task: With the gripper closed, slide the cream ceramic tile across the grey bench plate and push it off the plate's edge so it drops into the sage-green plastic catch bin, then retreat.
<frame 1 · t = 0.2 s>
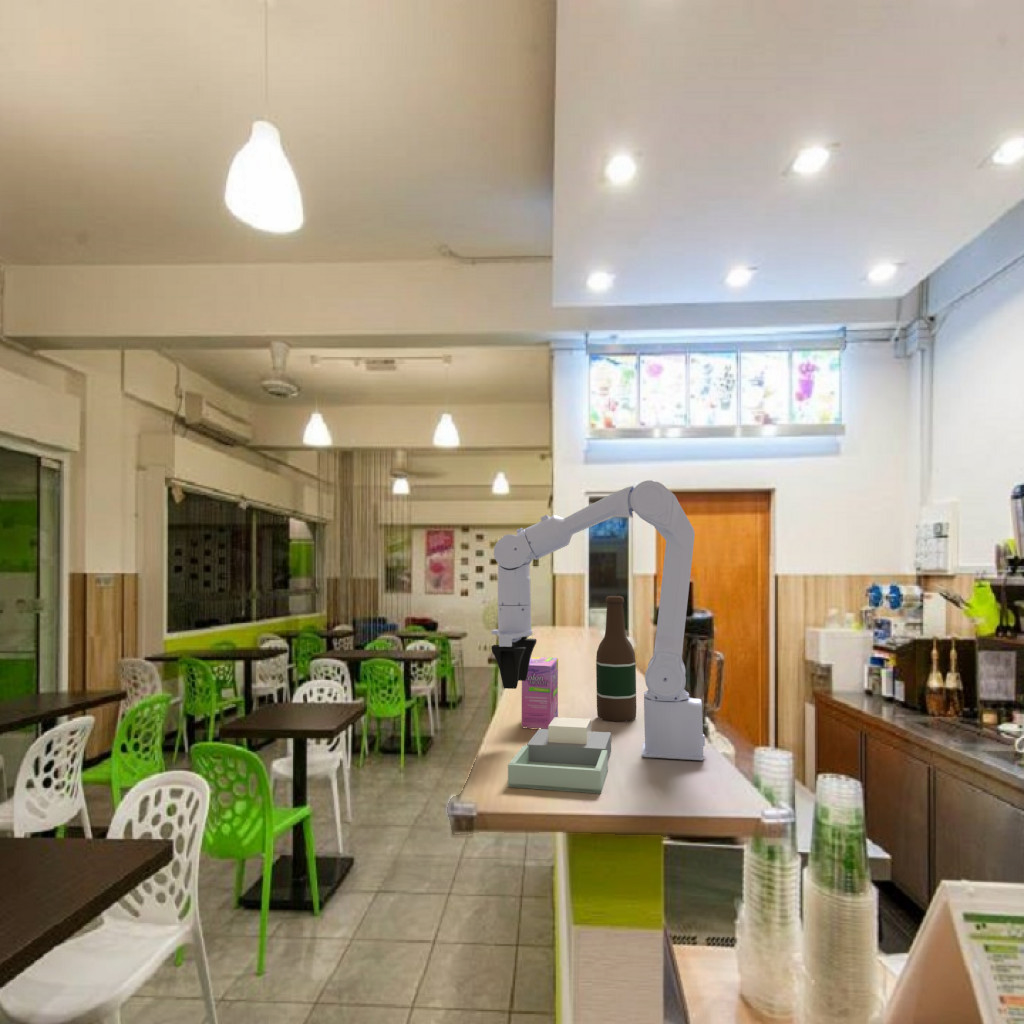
hand: (515, 684, 118), 10 cm above the counter, fingers open, 7 cm apart
catch bin: (559, 778, 98), on the counter
beer bottle: (616, 718, 136), on the counter
tile: (570, 738, 109), point 3 cm above the counter, touching bench plate
box: (540, 723, 132), on the counter
bench plate: (570, 757, 108), on the counter
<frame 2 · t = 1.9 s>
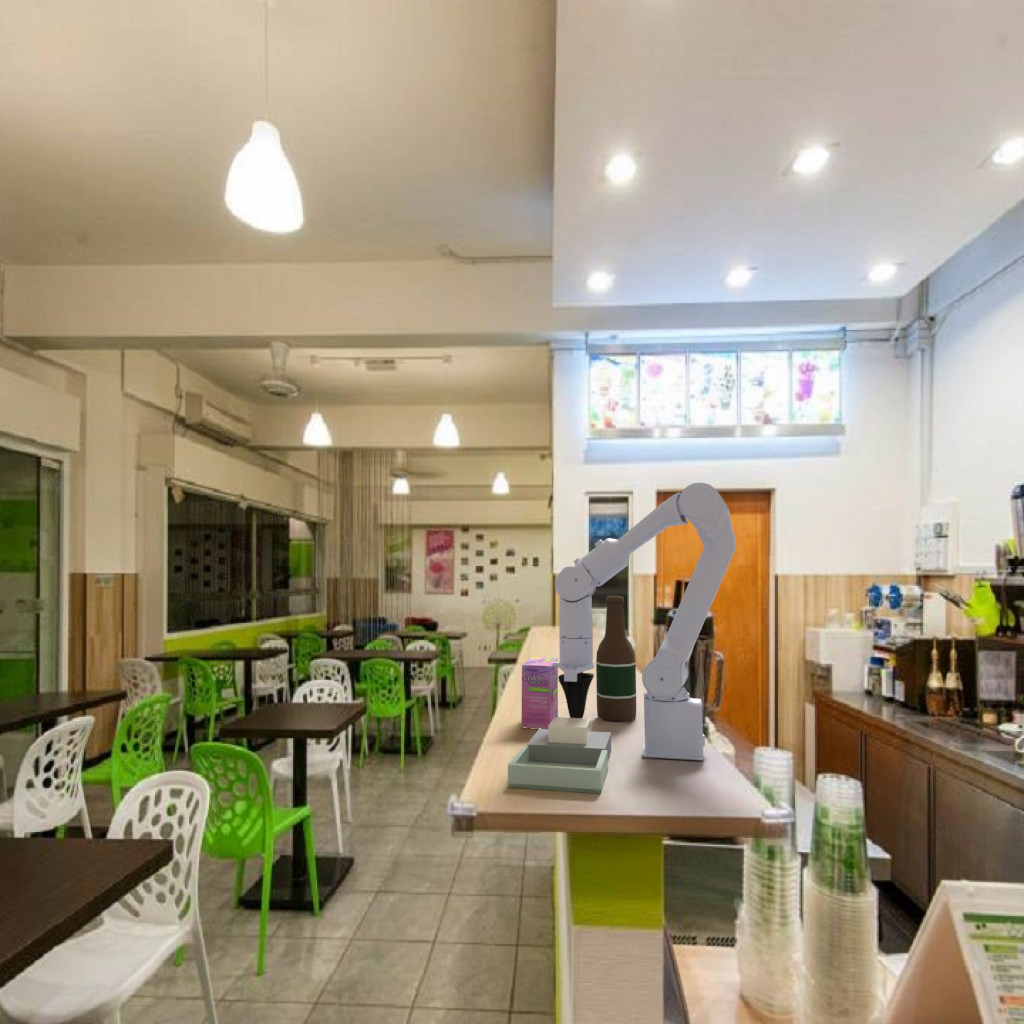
hand: (576, 717, 117), 4 cm above the counter, fingers closed
nothing on the counter moved.
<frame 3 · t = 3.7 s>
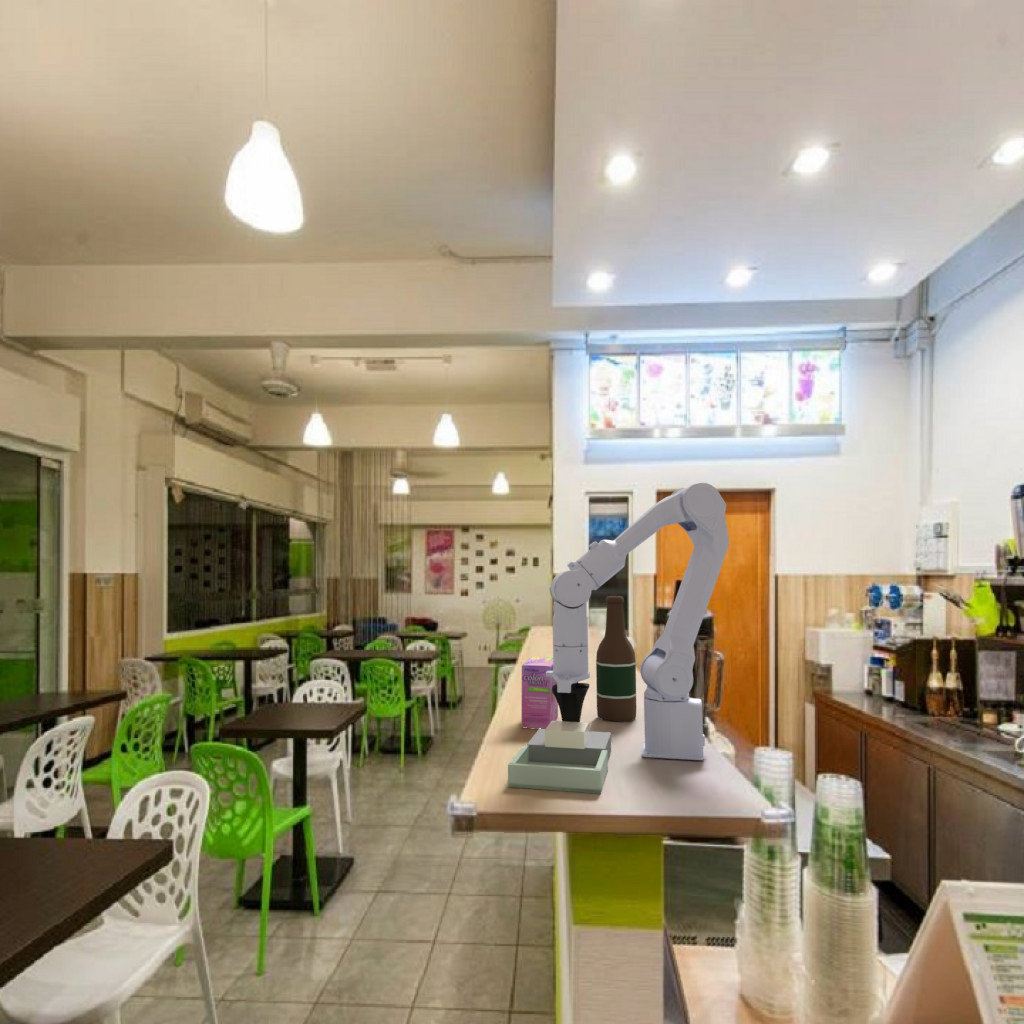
hand: (571, 730, 110), 4 cm above the counter, fingers closed
tile: (567, 742, 106), point 3 cm above the counter, touching gripper
everything else where it was.
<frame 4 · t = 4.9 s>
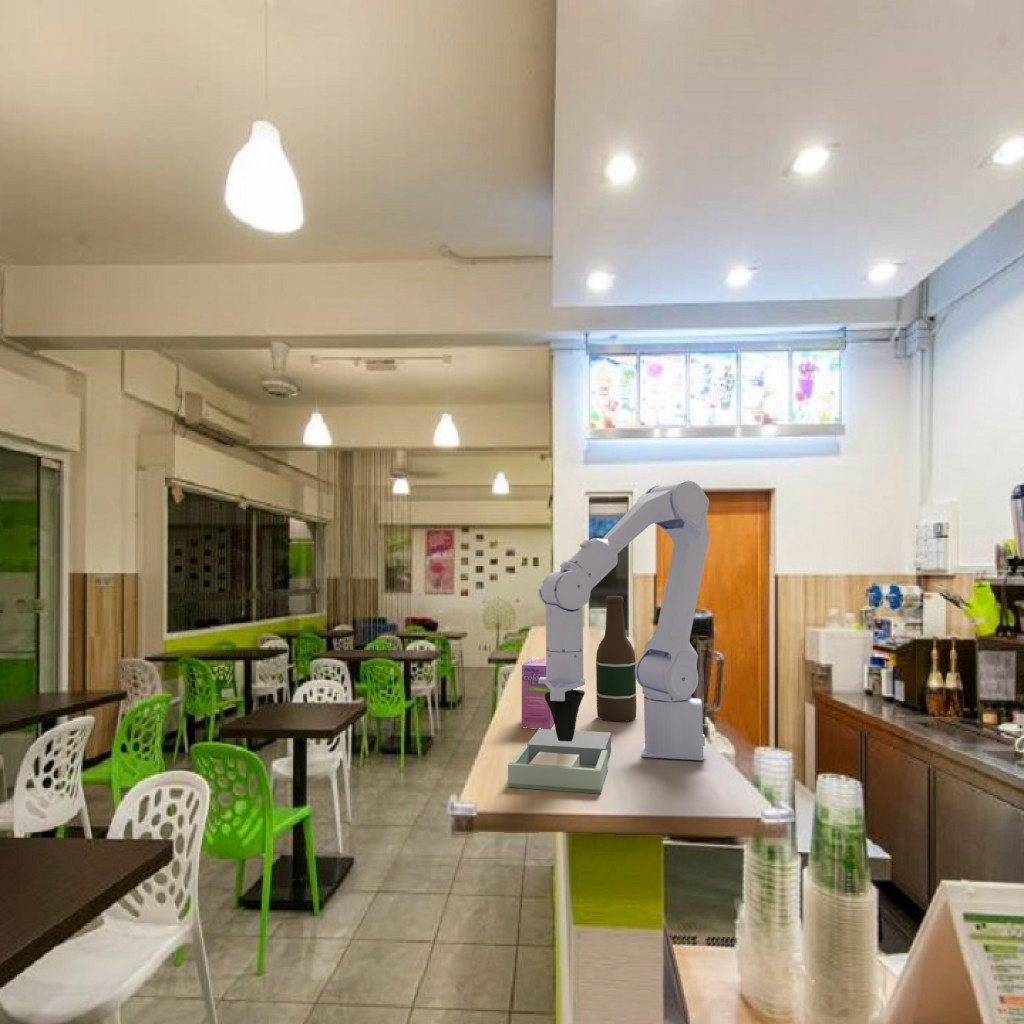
hand: (565, 740, 104), 4 cm above the counter, fingers closed
tile: (554, 759, 97), point 3 cm above the counter, tilted 180°, touching catch bin
everything else where it was.
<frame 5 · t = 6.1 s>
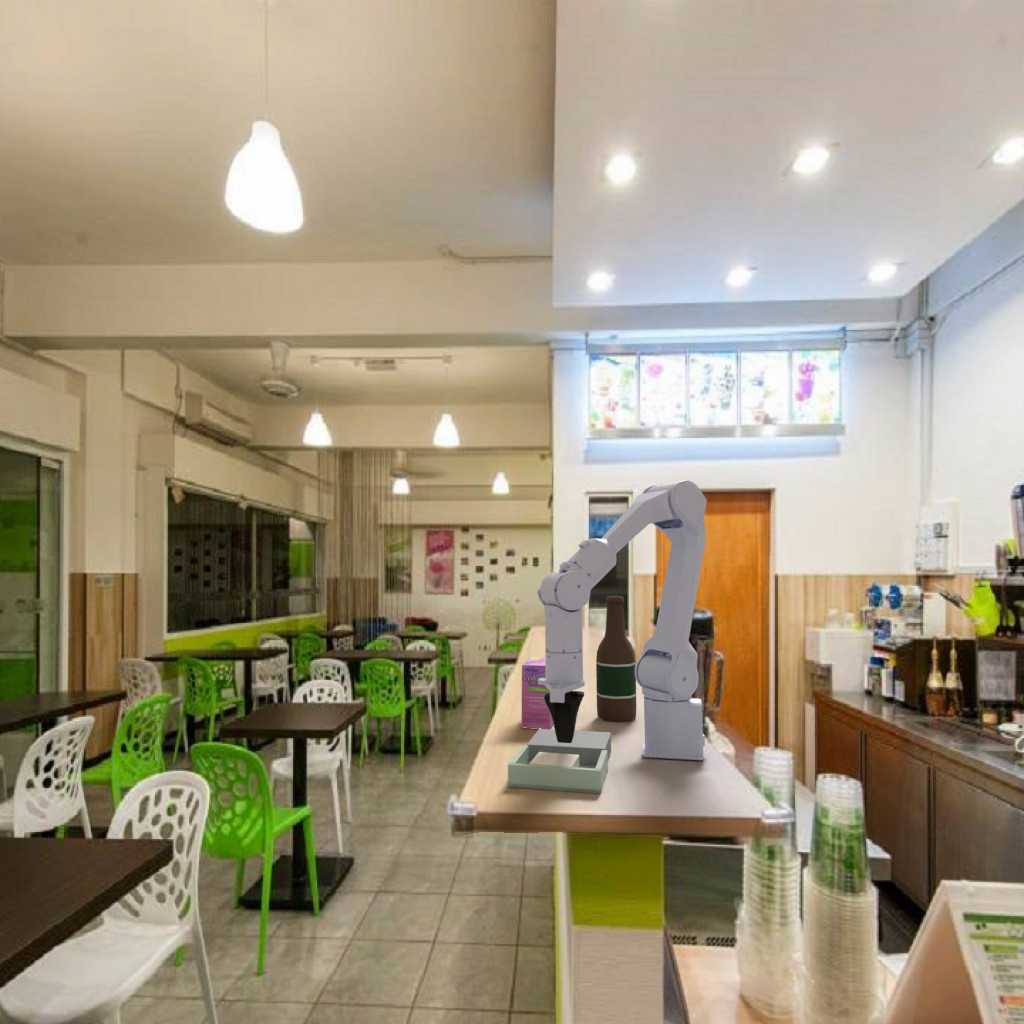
hand: (565, 741, 103), 4 cm above the counter, fingers closed
nothing on the counter moved.
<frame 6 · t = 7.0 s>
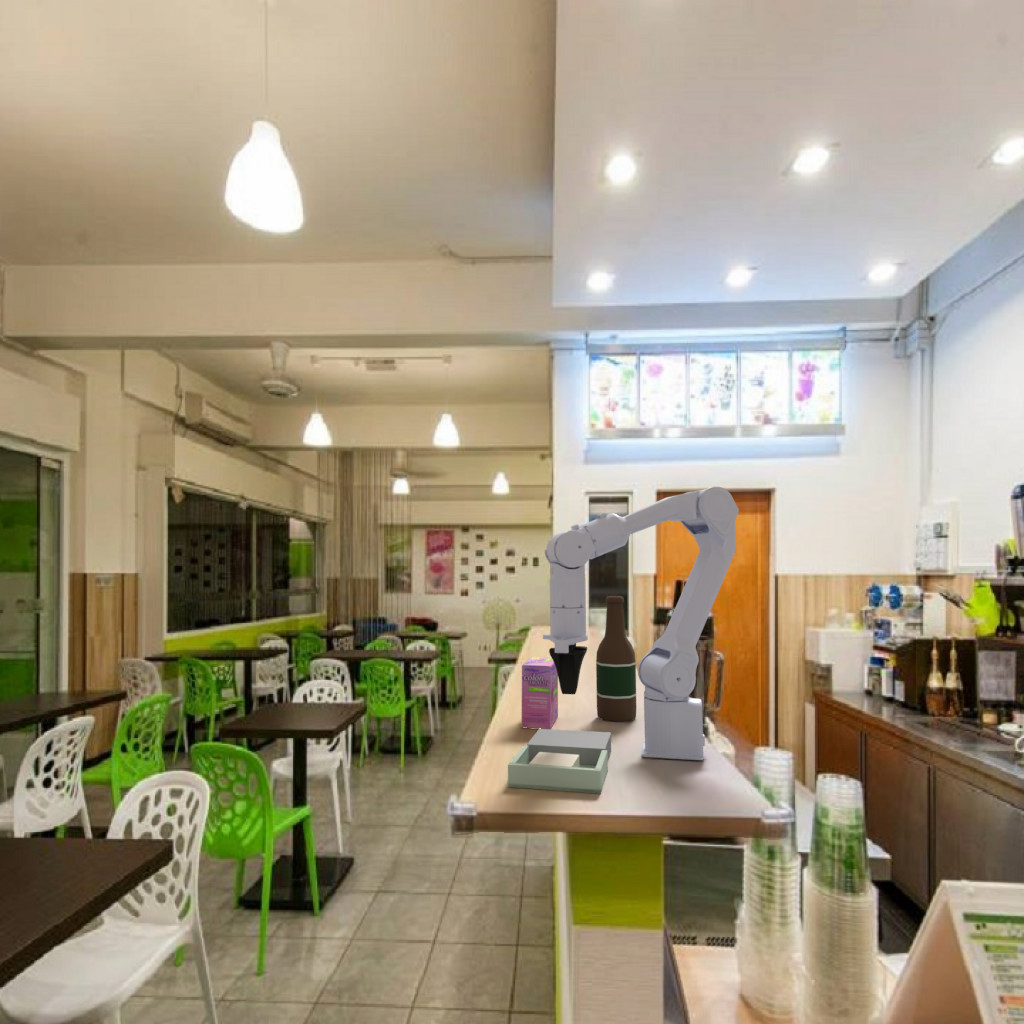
hand: (569, 693, 108), 10 cm above the counter, fingers closed
nothing on the counter moved.
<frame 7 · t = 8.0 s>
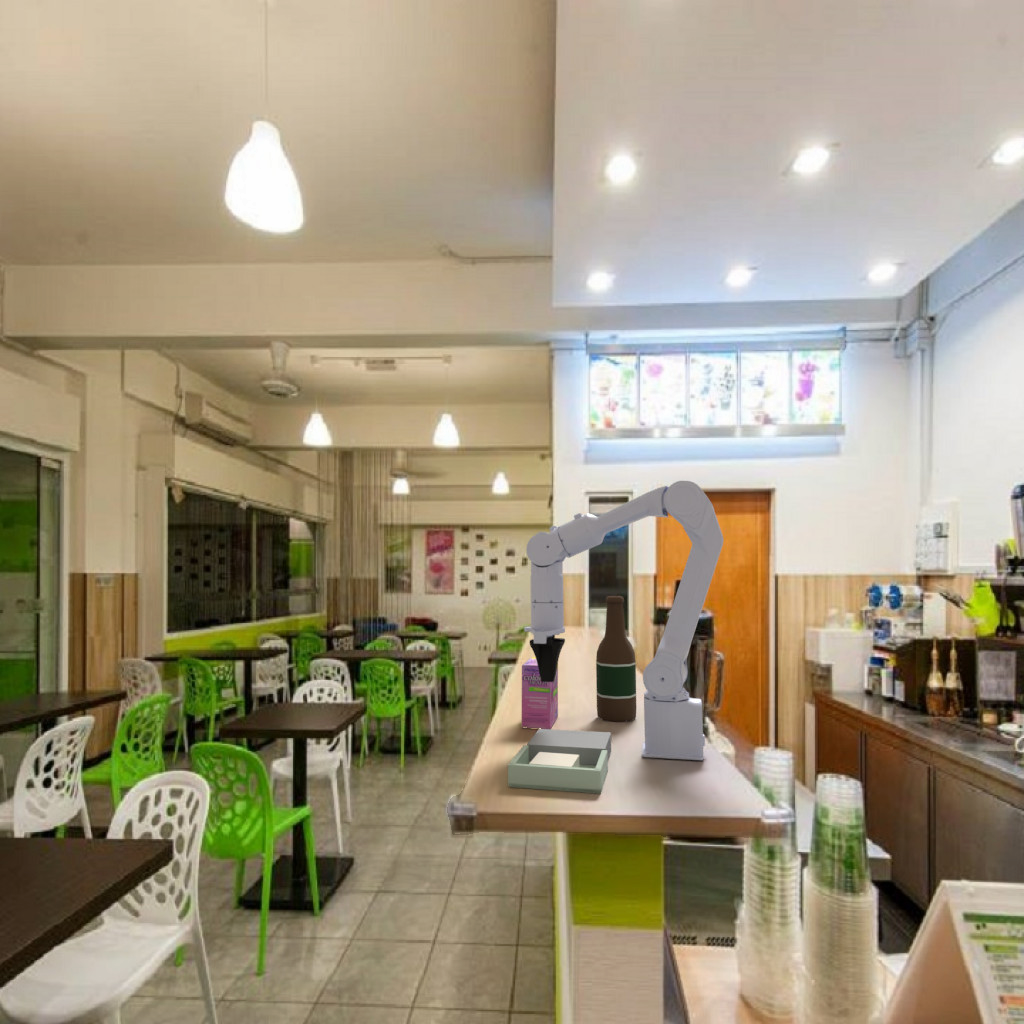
hand: (547, 681, 118), 10 cm above the counter, fingers closed
nothing on the counter moved.
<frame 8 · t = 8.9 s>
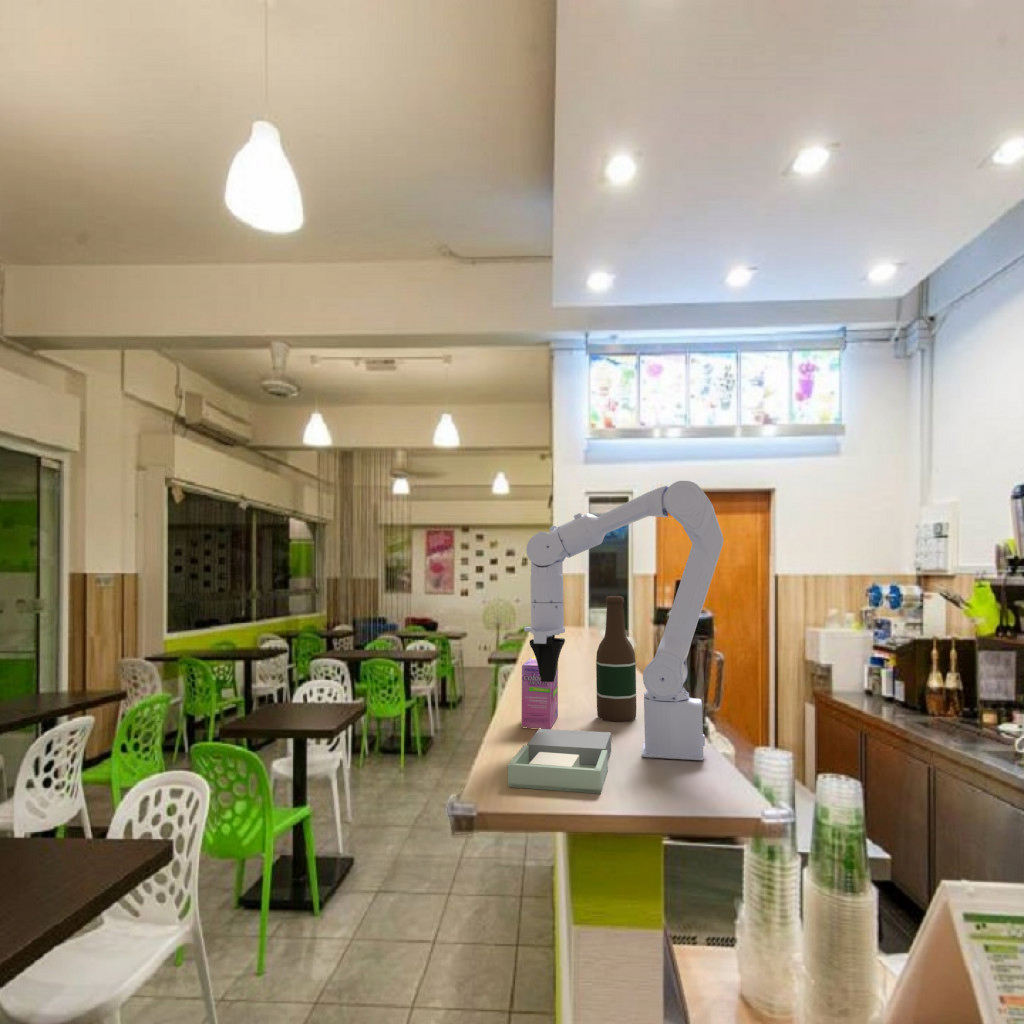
hand: (547, 681, 118), 10 cm above the counter, fingers closed
nothing on the counter moved.
at the end: tile inside the target area (1.2 cm from its centre), point 3.0 cm above the counter; tile touching catch bin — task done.
